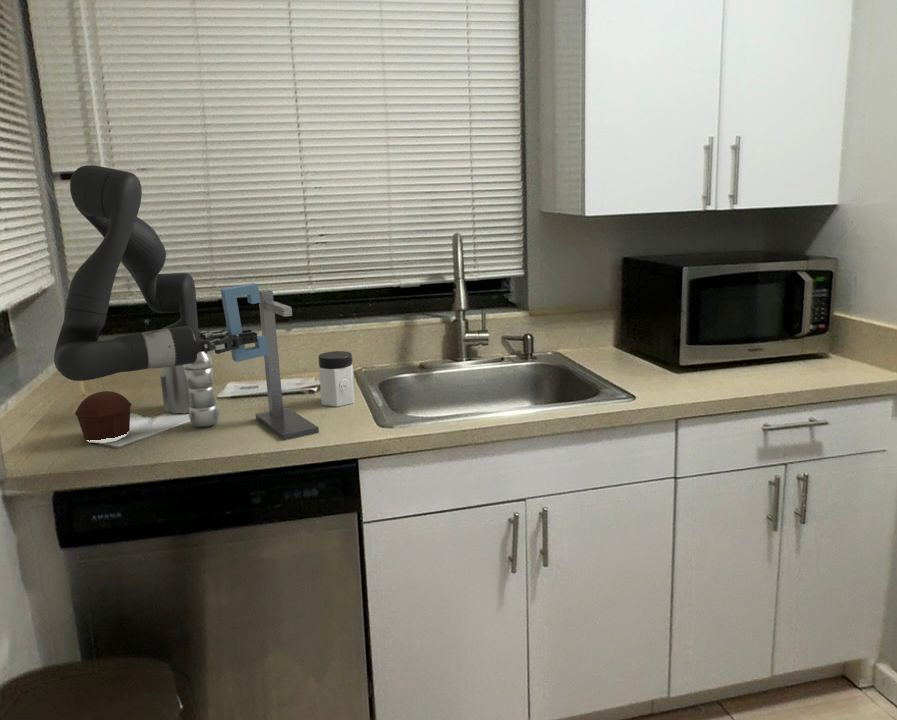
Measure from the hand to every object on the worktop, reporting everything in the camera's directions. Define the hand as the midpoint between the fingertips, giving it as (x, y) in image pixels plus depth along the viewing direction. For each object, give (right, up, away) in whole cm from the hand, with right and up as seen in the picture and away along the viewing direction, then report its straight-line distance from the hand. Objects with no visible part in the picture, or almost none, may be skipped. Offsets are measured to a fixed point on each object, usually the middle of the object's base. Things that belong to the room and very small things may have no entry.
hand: (253, 335), depth 157 cm
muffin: (-35, -22, +10) cm, 42 cm away
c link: (-1, -4, 0) cm, 5 cm away
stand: (+4, -20, +13) cm, 24 cm away
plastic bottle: (-15, -20, +15) cm, 29 cm away
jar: (+13, -16, +30) cm, 37 cm away
